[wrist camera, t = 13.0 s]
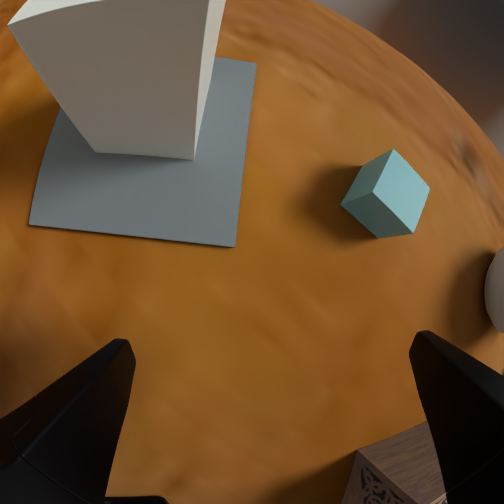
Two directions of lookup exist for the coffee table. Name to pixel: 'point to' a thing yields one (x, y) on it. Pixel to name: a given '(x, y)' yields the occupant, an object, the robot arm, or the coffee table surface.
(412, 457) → the tissue box cover
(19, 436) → the robot arm
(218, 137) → the mat
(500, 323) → the teacup
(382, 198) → the block
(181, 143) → the tall white pillar
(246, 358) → the coffee table surface
